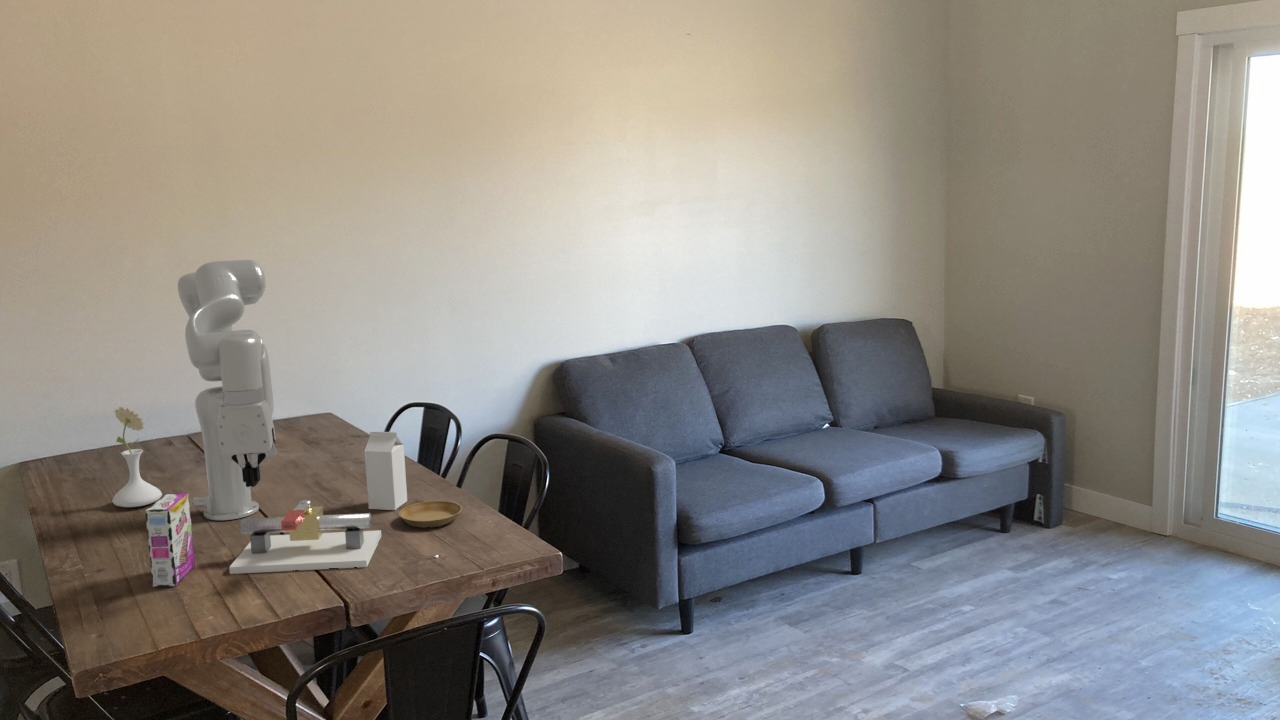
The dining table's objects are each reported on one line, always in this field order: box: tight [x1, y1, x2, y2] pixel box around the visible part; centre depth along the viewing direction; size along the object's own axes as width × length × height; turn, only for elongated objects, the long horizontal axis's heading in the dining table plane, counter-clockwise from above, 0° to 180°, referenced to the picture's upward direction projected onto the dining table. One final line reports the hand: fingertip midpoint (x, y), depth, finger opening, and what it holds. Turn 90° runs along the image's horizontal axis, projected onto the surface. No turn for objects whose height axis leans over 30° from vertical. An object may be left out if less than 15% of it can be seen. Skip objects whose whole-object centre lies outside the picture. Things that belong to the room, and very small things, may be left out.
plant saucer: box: [398, 500, 463, 529], centre depth 236 cm, size 15×15×3 cm
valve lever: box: [281, 499, 312, 530], centre depth 208 cm, size 3×15×2 cm, turn 5°
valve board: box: [228, 529, 382, 575], centre depth 216 cm, size 28×18×2 cm, turn 95°
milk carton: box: [364, 430, 408, 511], centre depth 246 cm, size 7×7×19 cm
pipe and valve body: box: [239, 505, 372, 554], centre depth 215 cm, size 27×6×9 cm, turn 95°
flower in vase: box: [112, 406, 163, 508], centre depth 251 cm, size 13×11×25 cm
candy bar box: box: [144, 493, 196, 588], centre depth 204 cm, size 11×5×16 cm, turn 5°
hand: (252, 484), depth 202 cm, fingers closed
